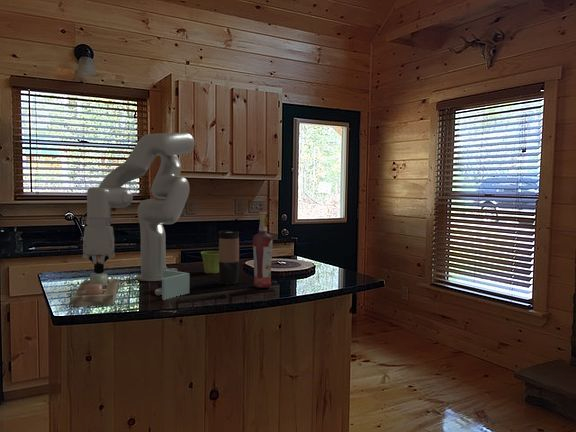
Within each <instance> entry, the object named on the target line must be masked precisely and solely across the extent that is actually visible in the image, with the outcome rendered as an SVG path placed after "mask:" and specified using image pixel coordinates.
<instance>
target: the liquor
mask: <svg viewBox="0 0 576 432" xmlns="http://www.w3.org/2000/svg"><path fill="white" fill-rule="evenodd" d="M258 213H259V227H258V233H255V235H253V236H252V250H253V274H254V276H253V277H254V278H253V280H254V282H253V284H252V285H253V286H254V287H255V288H256V289H258V288H267V289H269V288H270V287H271V286H272V282H271V279H272V278H271V277H272V273H271V272H272V257H273V239H274V237H273V235H271V234H269V233H268V229H267V215H268V214H267V211H259V212H258Z"/></svg>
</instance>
